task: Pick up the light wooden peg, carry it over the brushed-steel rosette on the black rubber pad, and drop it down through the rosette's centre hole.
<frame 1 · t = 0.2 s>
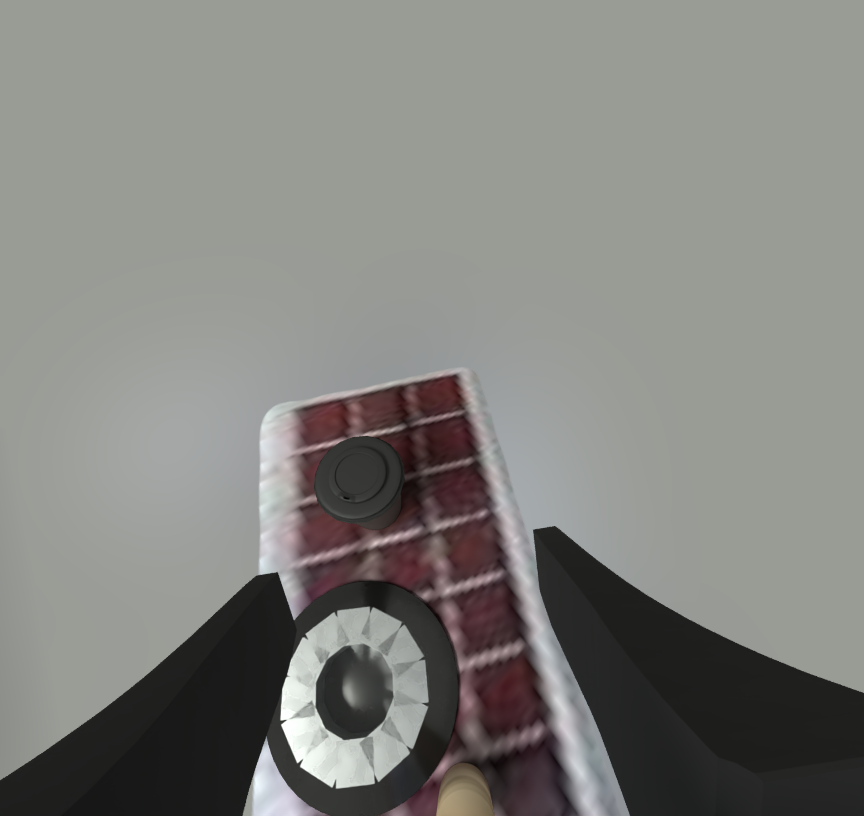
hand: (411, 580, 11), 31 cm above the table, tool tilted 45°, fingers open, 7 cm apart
coffee cup: (377, 505, 44), on the table
rosette: (361, 685, 36), on the table
peg: (464, 795, 32), on the table
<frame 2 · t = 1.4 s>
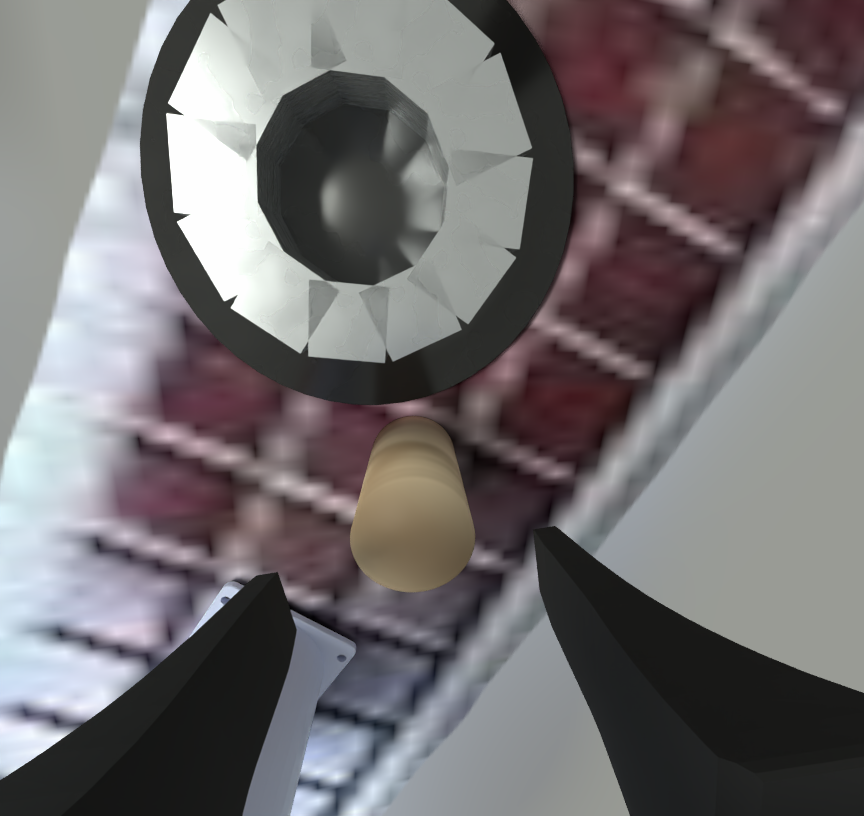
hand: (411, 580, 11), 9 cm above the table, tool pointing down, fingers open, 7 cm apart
rosette: (363, 201, 16), on the table
peg: (413, 455, 20), on the table
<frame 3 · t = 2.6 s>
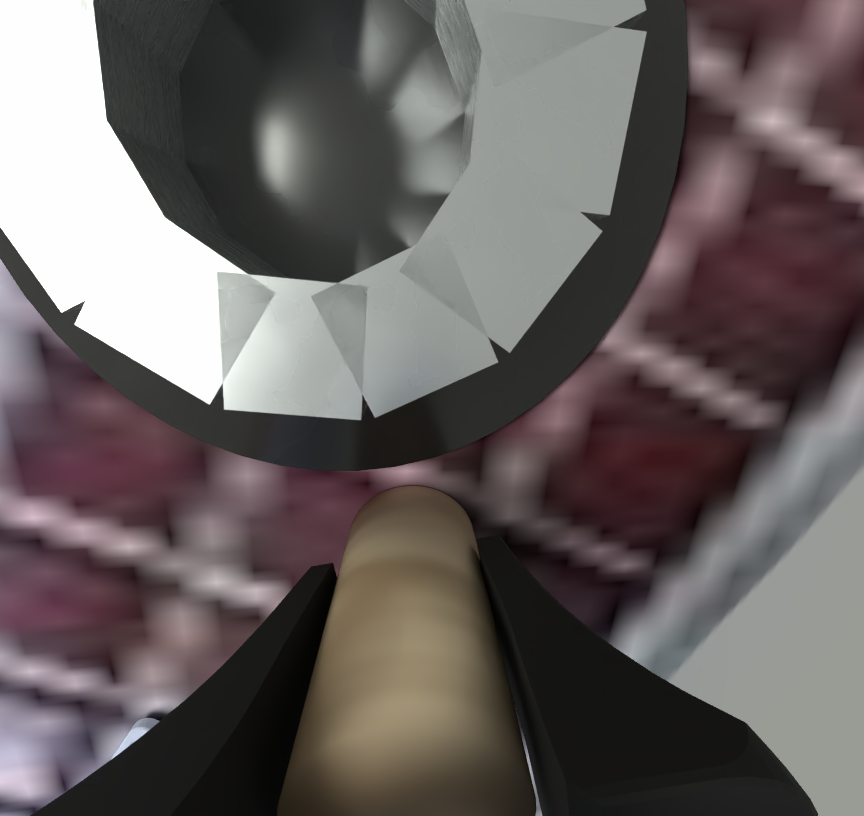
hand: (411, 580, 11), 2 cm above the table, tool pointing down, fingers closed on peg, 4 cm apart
rosette: (327, 141, 10), on the table
peg: (411, 541, 13), on the table, touching gripper
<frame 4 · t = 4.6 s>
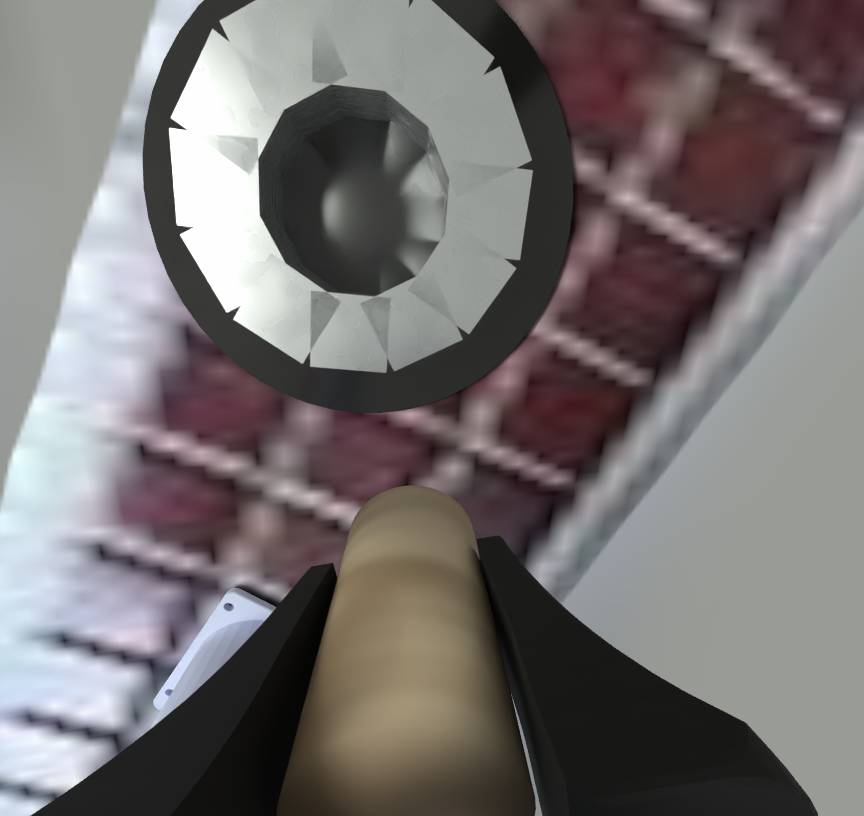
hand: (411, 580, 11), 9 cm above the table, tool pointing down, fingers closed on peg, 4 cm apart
rosette: (364, 212, 17), on the table
peg: (412, 541, 13), point 7 cm above the table, touching gripper
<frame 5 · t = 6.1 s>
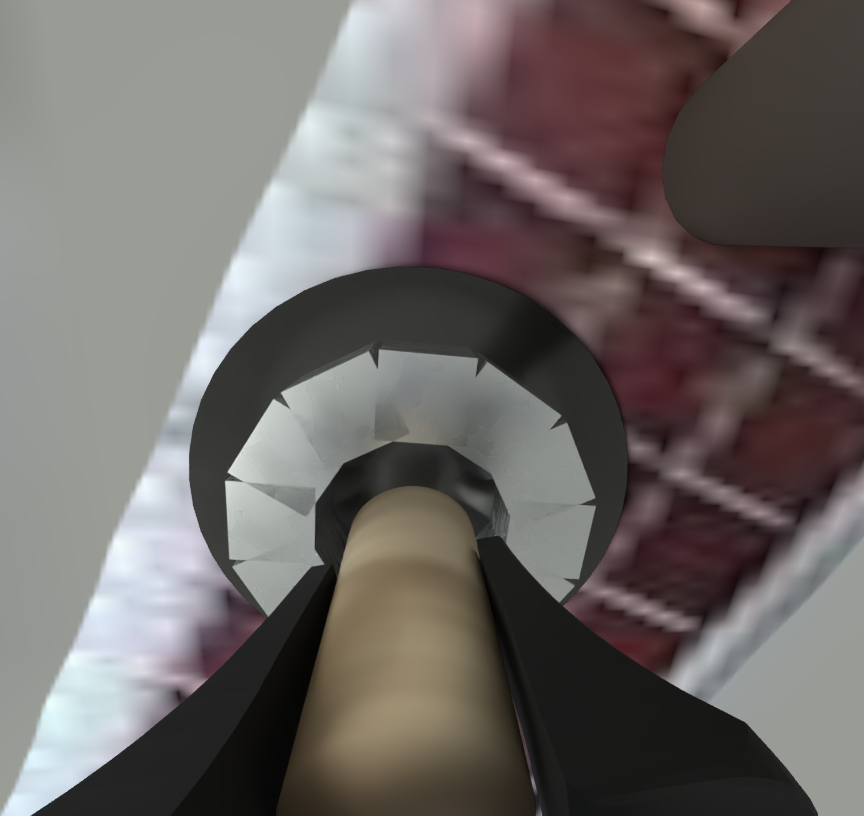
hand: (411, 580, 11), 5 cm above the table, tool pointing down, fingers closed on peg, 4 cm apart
coffee cup: (738, 159, 13), on the table
rosette: (412, 492, 16), on the table
peg: (412, 542, 13), point 3 cm above the table, touching gripper
when the fingers open (4 cm above the table, at t = 6.8 s): peg drops 2 cm, resting on rosette.
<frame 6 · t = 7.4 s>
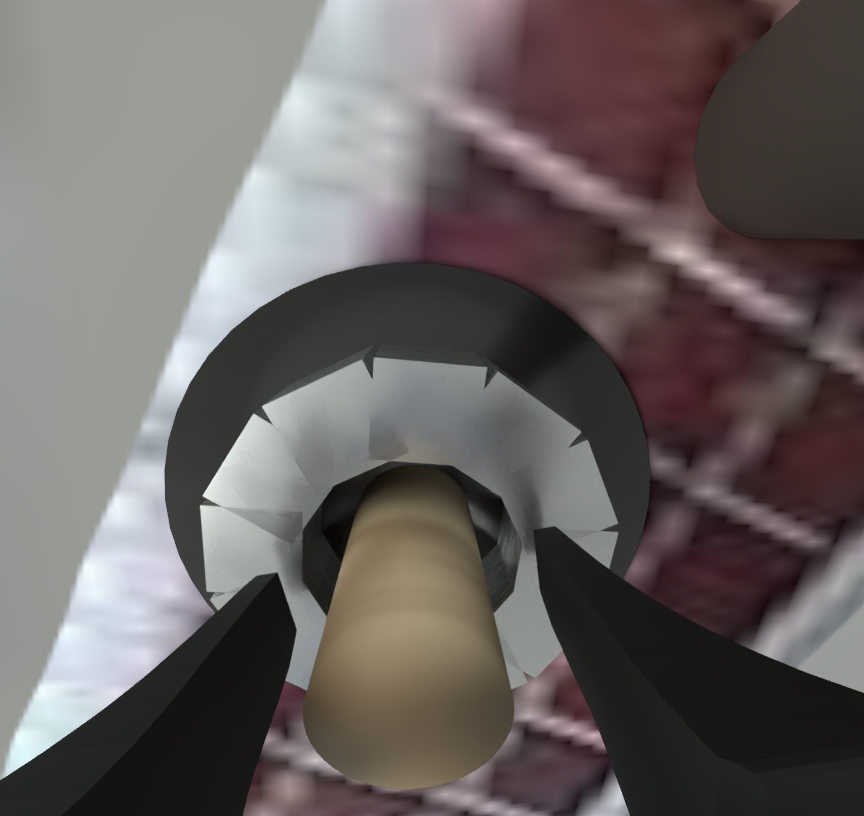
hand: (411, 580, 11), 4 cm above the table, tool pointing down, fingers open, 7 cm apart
coffee cup: (780, 142, 12), on the table
rosette: (412, 511, 15), on the table
peg: (413, 516, 14), resting on rosette
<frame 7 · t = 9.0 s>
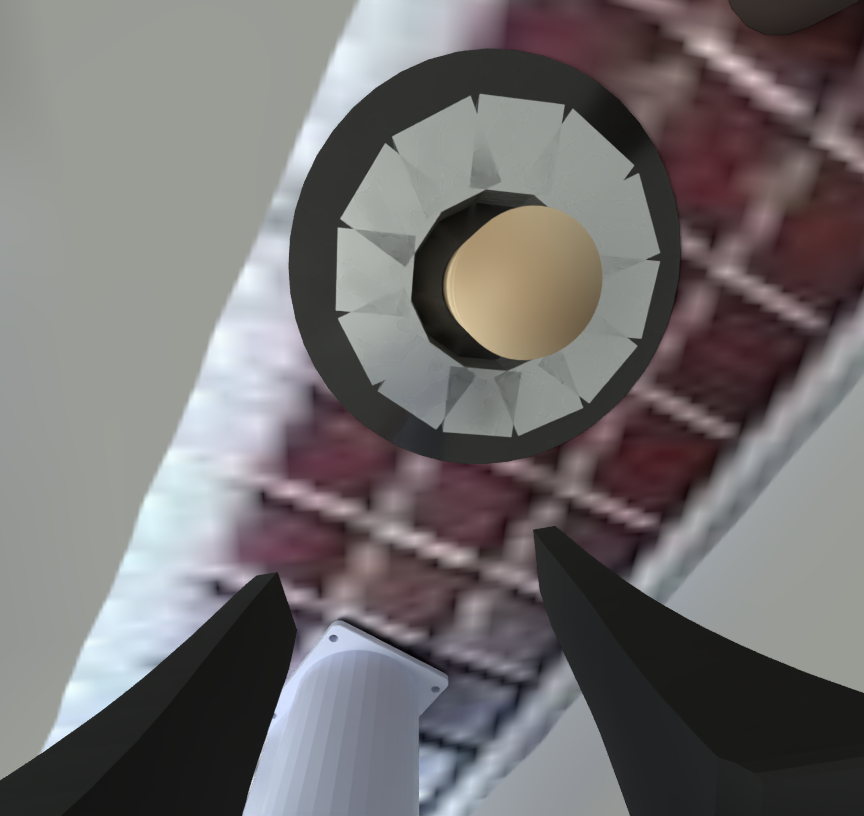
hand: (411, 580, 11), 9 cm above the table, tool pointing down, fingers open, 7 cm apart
rosette: (485, 285, 18), on the table
peg: (487, 285, 18), resting on rosette
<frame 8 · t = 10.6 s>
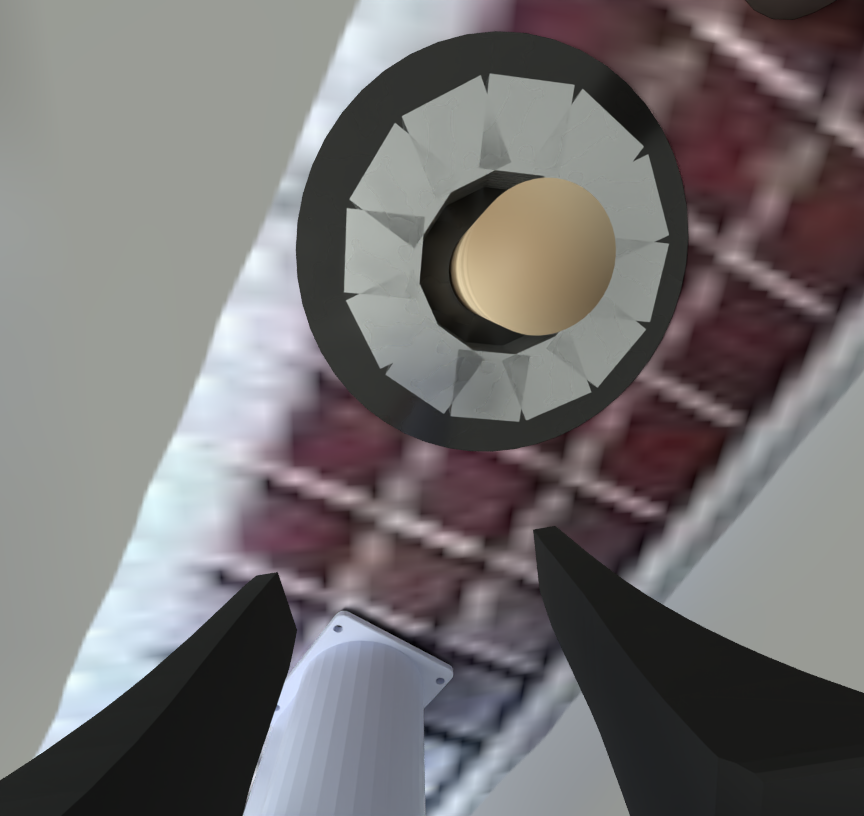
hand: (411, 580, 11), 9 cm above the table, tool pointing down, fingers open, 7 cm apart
rosette: (492, 270, 18), on the table
peg: (494, 270, 18), resting on rosette
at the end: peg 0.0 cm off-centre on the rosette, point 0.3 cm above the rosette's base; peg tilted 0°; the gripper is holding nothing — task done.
